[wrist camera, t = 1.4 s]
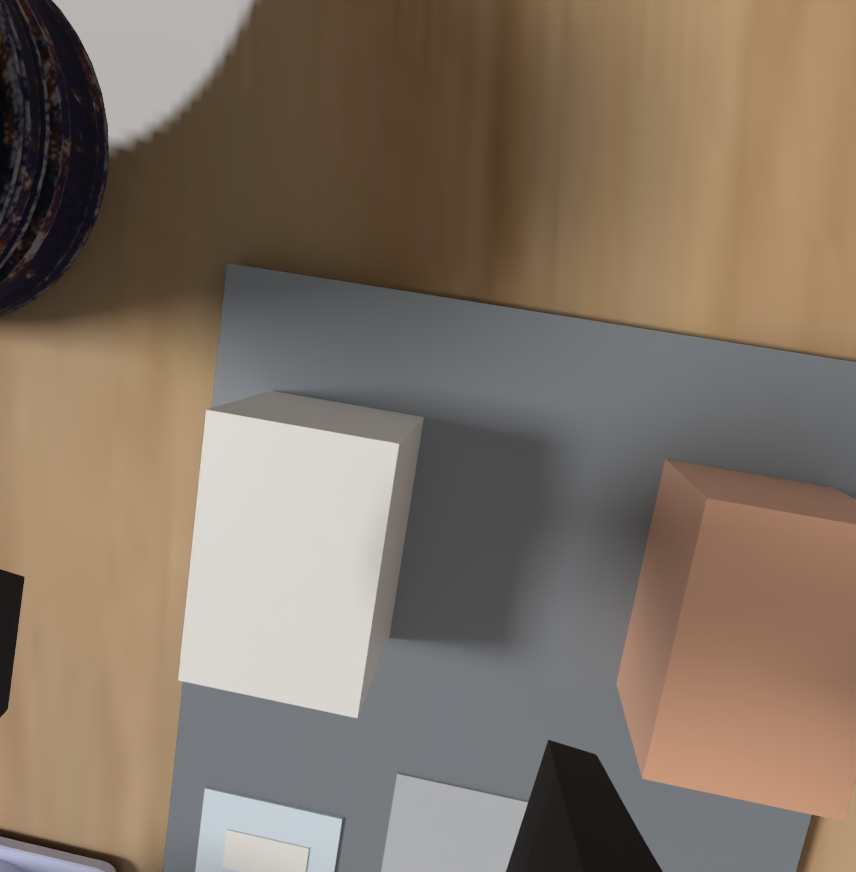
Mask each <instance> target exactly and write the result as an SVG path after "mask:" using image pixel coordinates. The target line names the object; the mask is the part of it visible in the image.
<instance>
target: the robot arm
mask: <svg viewBox="0 0 856 872" xmlns="http://www.w3.org/2000/svg"><path fill="white" fill-rule="evenodd" d="M23 585H24V577H23V576H20V575H17V574H13V573H10V572H7V571H4V570H1V569H0V717H1V716H2V715H3V714H4V713H5V712H6V710H7V709H8V702H9V695H10V687H11V679H12V671H13V663H14V655H15V647H16V640H17V632H18V624H19V616H20V608H21V600H22V592H23ZM0 872H116V870H115V868H114V867H113V866H112V865H111V864H109V863H107V862H105V861H101V860H97V859H93V858H88V857H84V856H80V855H76V854H71V853H67V852H63V851H59V850H55V849H50V848H46V847H42V846H38V845H34V844H29V843H25V842H21V841H17V840H12V839H8V838H4V837H0ZM506 872H663V871H662V869H661V868H660V866H659V864H658V863H657V861H656V859H655V858H654V856H653V854H652V853H651V851H650V849H649V848H648V846H647V844H646V842H645V841H644V839H643V837H642V835H641V834H640V832H639V830H638V828H637V827H636V825H635V823H634V821H633V819H632V818H631V816H630V814H629V812H628V811H627V809H626V807H625V805H624V803H623V801H622V800H621V798H620V796H619V794H618V792H617V791H616V789H615V787H614V785H613V783H612V781H611V780H610V778H609V776H608V774H607V772H606V771H605V769H604V767H603V765H602V763H601V762H600V760H599V758H598V756H597V755H596V754H593V753H590V752H587V751H584V750H580V749H577V748H574V747H571V746H567V745H564V744H561V743H558V742H555V741H551V740H548V742H547V745H546V748H545V751H544V755H543V758H542V761H541V764H540V767H539V770H538V773H537V776H536V779H535V783H534V786H533V789H532V792H531V795H530V798H529V801H528V804H527V808H526V811H525V814H524V817H523V820H522V823H521V826H520V829H519V832H518V836H517V839H516V842H515V845H514V848H513V851H512V854H511V857H510V860H509V864H508V867H507V870H506Z"/></svg>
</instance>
